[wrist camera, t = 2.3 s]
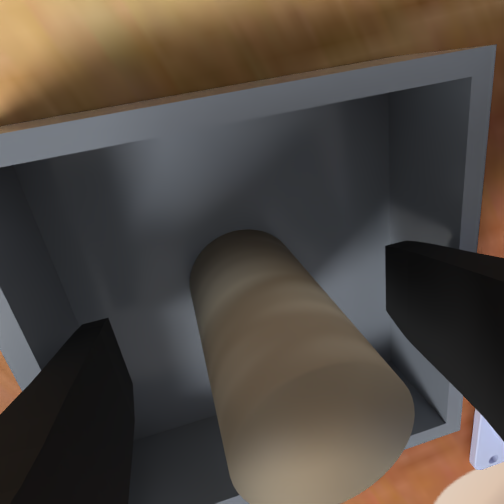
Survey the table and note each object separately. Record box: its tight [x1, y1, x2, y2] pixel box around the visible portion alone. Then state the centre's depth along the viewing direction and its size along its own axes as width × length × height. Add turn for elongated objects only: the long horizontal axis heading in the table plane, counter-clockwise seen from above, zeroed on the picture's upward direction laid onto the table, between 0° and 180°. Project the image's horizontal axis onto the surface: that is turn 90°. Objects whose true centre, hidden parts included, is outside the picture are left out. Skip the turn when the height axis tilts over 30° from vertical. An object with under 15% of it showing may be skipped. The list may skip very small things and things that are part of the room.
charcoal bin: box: [0, 44, 497, 504], centre depth 11 cm, size 11×11×4 cm
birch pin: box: [190, 229, 415, 504], centre depth 9 cm, size 3×3×6 cm
